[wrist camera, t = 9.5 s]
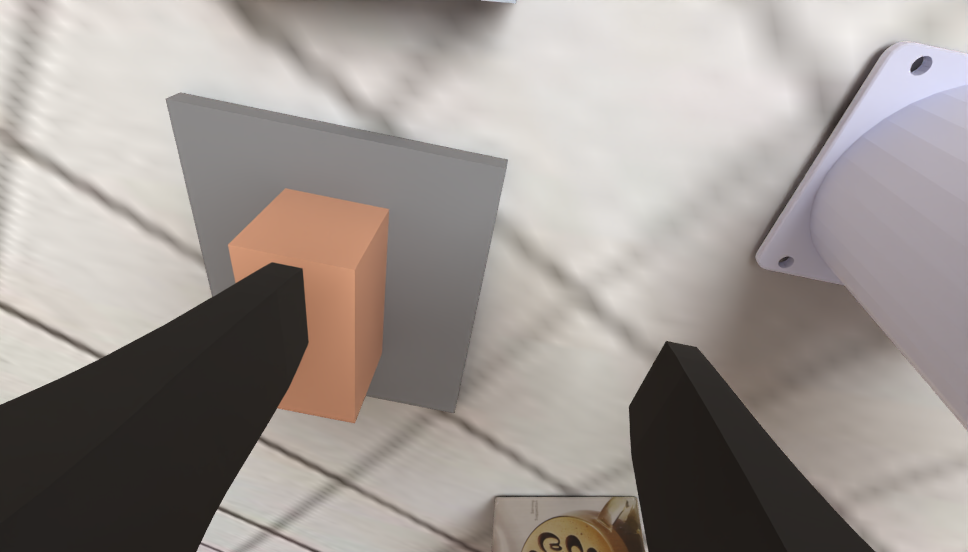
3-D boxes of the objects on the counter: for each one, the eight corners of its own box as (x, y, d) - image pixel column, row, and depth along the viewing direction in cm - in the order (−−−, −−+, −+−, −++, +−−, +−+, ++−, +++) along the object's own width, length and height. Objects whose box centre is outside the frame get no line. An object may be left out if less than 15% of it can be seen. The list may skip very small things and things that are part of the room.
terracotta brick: (285, 188, 18) (227, 244, 15) (389, 209, 18) (354, 269, 15) (300, 337, 23) (259, 404, 19) (381, 353, 23) (354, 423, 19)
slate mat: (507, 159, 17) (506, 168, 16) (456, 401, 25) (454, 413, 25) (180, 92, 17) (165, 98, 16) (237, 357, 25) (229, 369, 25)
